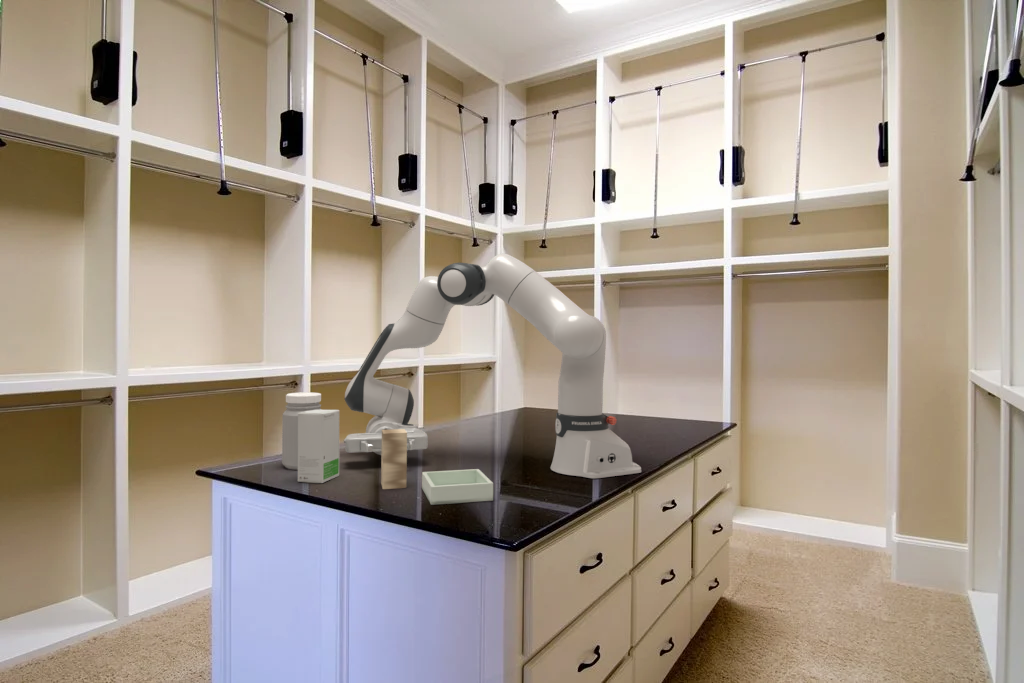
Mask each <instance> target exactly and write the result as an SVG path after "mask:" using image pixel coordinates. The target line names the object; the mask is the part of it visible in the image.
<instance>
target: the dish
mask: <svg viewBox="0 0 1024 683" xmlns="http://www.w3.org/2000/svg"><path fill="white" fill-rule="evenodd" d="M421 473H422V474H421V489H422V491H423V493H424V494H425V496H426V498H427V500H428V502H429V504H430V505H432V506H434V505H446V504H447V505H449V504H450V505H451V504H462V503H463V504H464V503H475V502H477V503H478V502H491V501H494V482H493V481H492V480H490V478H488V477H487V475H485V473H484V472H482V470H480V469H479V468H474V469H473V468H471V469H454V470H437V471H435V470H434V471H422V472H421Z"/></svg>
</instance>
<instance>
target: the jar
mask: <svg viewBox="0 0 1024 683" xmlns="http://www.w3.org/2000/svg"><path fill="white" fill-rule="evenodd" d="M321 401H322V393H320V392H310V391H307V392H291V393H287V394H285V403H287V404H286V405H285V410H284V412H283V413H282V433H281V434H282V437H281V438H282V444H281V445H282V447H281V448H282V450H281V451H282V452H281V456H282V458H281V462H282V463H281V464H282V465H283V466H284V467H285V468H286V469H288V470H296V471H298V413H299V412H304V411H310V410H323V409H322V408H321V407H322V404H320V403H321Z"/></svg>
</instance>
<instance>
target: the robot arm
mask: <svg viewBox="0 0 1024 683" xmlns="http://www.w3.org/2000/svg"><path fill="white" fill-rule="evenodd" d="M494 296H496V297H498V298H499V299H501V300H502V301H503V302H504V303H505V304H507V305H508V306H509V307H510V308H511V309H513V310H514V311H515V312H516V313H518V314H519V315H520V316H521V317H523V318H524V319H525V320H527V321H528V322H529V323H530V324H531V325H532V326H533V327H534V328H535V329H536V330H537V331H538V332H539V333H540V334H541V335H542V336H543V337H545V339H546V340H548V342H550V343H551V344H552V345H553V346H554V347H555V348H556V349H557V350H558V351H560V352H561V364H560V372H559V377H558V385H557V386H558V388H557V390H558V392H557V394H558V395H557V396H558V397H557V412H556V413H555V416H556V417H555V435H556V441H555V447H554V448H555V449H554V453H553V458H552V462H551V465H550V467H549V468H550V470H551V471H553V472H555V473H557V474H562V475H567V476H576V477H583V478H588V479H601V478H610V477H615V476H616V477H617V476H624V475H633V474H639V473H642V467H641V466H640V465H639V464H637V463H636V462H634V461H633V454H632V450H631V447H630V446H629V444H628V443H627V442H626V441H625V440H623V439H622V438H621V437H620V436H618V435H617V434H616V433H615V432H613V431H612V430H611V429H610V426H609V425H612V426H614V425H616V424H617V421H618V420H617V418H616V416H612V415H606V414H604V413H603V406H604V405H603V401H604V400H603V398H604V396H603V394H604V372H605V361H606V345H607V331H606V327H605V325H604V324H603V322H602V321H601V320H600V319H599V318H597V317H595V316H594V315H590V314H588V313H587V312H586V311H584V310H583V309H582V308H581V307H580V306H578V305H577V304H576V303H575V302H574V301H573V300H571V299H570V298H569V297H568V296H566V295H565V293H563V292H562V291H561V290H560V289H559V288H557V287H556V286H555V285H554V284H553V283H551V282H550V281H549V280H547V279H546V278H545V277H544V276H543V275H541V274H539V273H538V271H536V270H535V269H534V268H532V267H530V266H529V265H527V264H526V263H525V262H523V261H522V260H520V259H518V258H516V257H514V256H512V255H510V254H508V253H499V254H496V255H495V256H493V257H491V259H490V260H489V261H488V262H487V263H486V265H484V266H480V265H479V264H473V263H468V262H453V263H451V264H449V265H447V266H444V267H443V268H442V270H441V271H440V272H439V275H438V276H437V275H436V276H434V275H429V276H428V275H427V276H425V277H423V278H422V279H421V280H420V281H419V283H418V284H417V286H416V288H415V290H414V291H413V293H412V295H411V296H410V299H409V301H408V304H407V307H406V309H405V311H404V313H403V314H402V315H401V317H400V319H398V320H397V321H396V322H393V323H389V324H387V325H386V326H385V327H384V329H383V330H382V332H380V335H379V336H378V338H377V339H376V341H375V342H374V344H373V345H372V347H371V349H370V351H369V352H368V354H367V355H366V358H365V359H364V361H363V362H362V364H361V366H360V368H359V369H358V370H357V372H356V374H355V375H354V376H353V378H352V379H351V380H350V381H349V383H348V384H347V387H346V389H345V392H344V402H345V404H346V405H347V406H348V408H349V409H350V410H351V411H353V412H357V413H358V412H359V413H365V414H369V415H372V416H373V417H372V418H371V419H369V421H368V423H367V425H366V428H365V432H363V433H359V432H357V433H349V434H347V435H346V437H345V438H344V440H343V443H344V445H345V448H344V450H345V452H346V453H352V454H353V453H372V452H373V453H375V454H376V455H378V456H381V451H382V430H390V429H405V431H406V432H407V451H412V450H413V451H414V450H415V451H417V450H426V449H428V444H429V441H428V438H429V437H428V434H427V432H425V431H424V429H421V428H419V426H418V424H412V423H409V422H410V420H411V417H412V415H413V411H414V406H415V400H414V396H413V394H412V391H411V390H410V389H409V388H407V387H404V386H400V385H398V384H394V383H390V382H387V381H384V380H381V379H377V378H375V377H374V375H375V374H376V372H377V371H378V369H379V367H380V366H381V364H382V363H383V361H384V360H385V357H386V356H387V355H388V354H389V353H390V352H392V351H396V350H402V349H421V348H425V347H427V346H430V345H432V344H433V343H435V342H436V341H437V340H438V339H439V337H440V335H441V333H442V331H443V328H444V327H445V324H446V321H447V319H448V316H449V314H450V311H451V310H452V308H454V307H455V306H465V307H475V306H483V305H486V304H487V303H489V302H490V301H491V300H492V299H493V298H494Z"/></svg>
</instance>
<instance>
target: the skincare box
mask: <svg viewBox="0 0 1024 683" xmlns="http://www.w3.org/2000/svg"><path fill="white" fill-rule="evenodd" d="M339 476H340V410H339V409H322V410H310V411H304V412H299V413H298V470H297V482H298V483H308V484H323V483H325V482H327V481H329V480H330V481H331V480H333V479H334V478H337V477H339Z"/></svg>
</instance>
